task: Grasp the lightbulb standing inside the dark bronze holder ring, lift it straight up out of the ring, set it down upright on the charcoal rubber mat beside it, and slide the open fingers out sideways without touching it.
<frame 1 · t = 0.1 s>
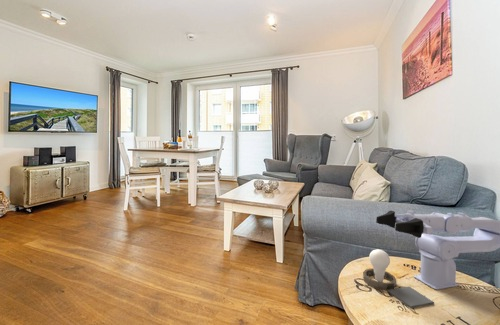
hand: (386, 223, 74), 22 cm above the table, tool horizontal, fingers open, 7 cm apart
mat: (409, 297, 71), on the table
collar: (379, 281, 79), on the table
lightbulb: (379, 282, 79), resting in collar
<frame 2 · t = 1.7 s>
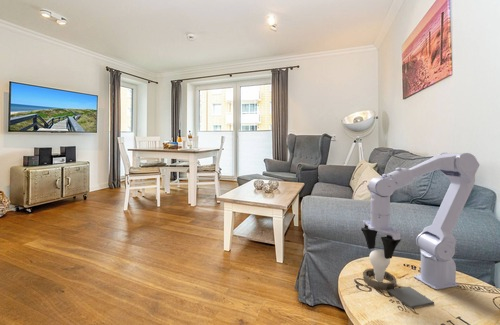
hand: (379, 253, 79), 10 cm above the table, tool pointing down, fingers open, 7 cm apart
nothing on the table moved.
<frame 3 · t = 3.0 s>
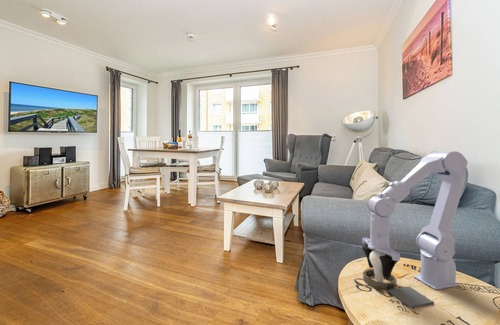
hand: (379, 271, 79), 3 cm above the table, tool pointing down, fingers closed on lightbulb, 6 cm apart
lightbulb: (379, 282, 79), resting in collar, touching gripper
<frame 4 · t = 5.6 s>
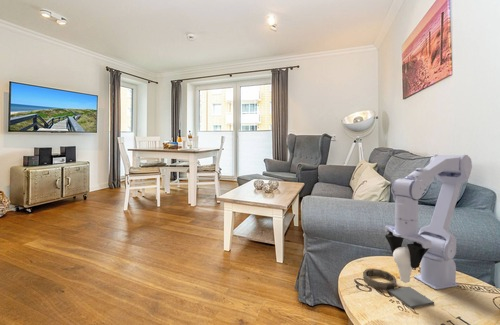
hand: (405, 262, 71), 10 cm above the table, tool pointing down, fingers closed on lightbulb, 6 cm apart
lightbulb: (404, 282, 72), point 4 cm above the table, touching gripper
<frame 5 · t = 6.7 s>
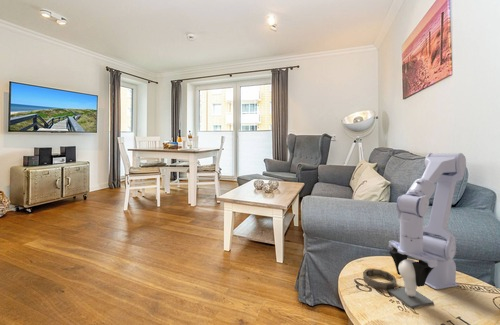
hand: (410, 279, 70), 6 cm above the table, tool pointing down, fingers closed on lightbulb, 6 cm apart
lightbulb: (410, 296, 70), resting on mat, touching gripper
when the fingers open (6 cm above the table, at t = 7.7 s): lightbulb stays where it is, resting on mat.
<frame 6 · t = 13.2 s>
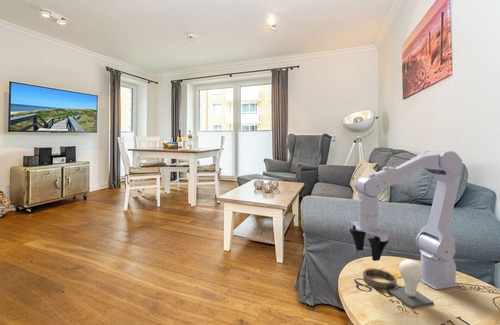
hand: (367, 254, 77), 10 cm above the table, tool pointing down, fingers open, 7 cm apart
lightbulb: (410, 296, 70), resting on mat
at the end: lightbulb 0.2 cm off-centre on the mat, point 0.4 cm above the mat's base; lightbulb tilted 0°; the gripper is holding nothing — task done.
